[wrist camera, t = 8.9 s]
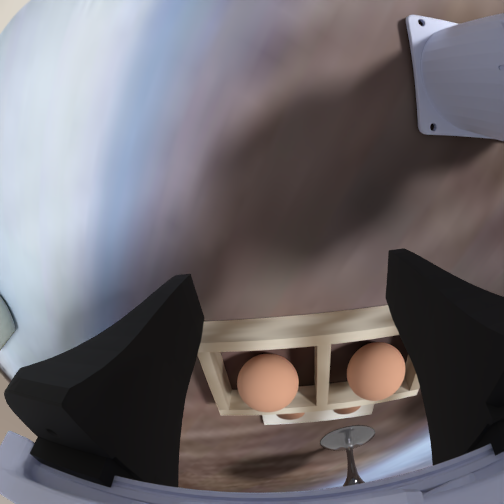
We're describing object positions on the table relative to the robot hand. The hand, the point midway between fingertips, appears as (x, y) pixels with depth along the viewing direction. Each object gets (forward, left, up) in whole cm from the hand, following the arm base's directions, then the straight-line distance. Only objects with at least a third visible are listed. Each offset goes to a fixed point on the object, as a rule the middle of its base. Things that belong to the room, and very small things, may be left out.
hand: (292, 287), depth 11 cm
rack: (-2, +17, -9) cm, 19 cm away
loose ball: (+2, +14, -7) cm, 16 cm away
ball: (-7, +14, -7) cm, 17 cm away
